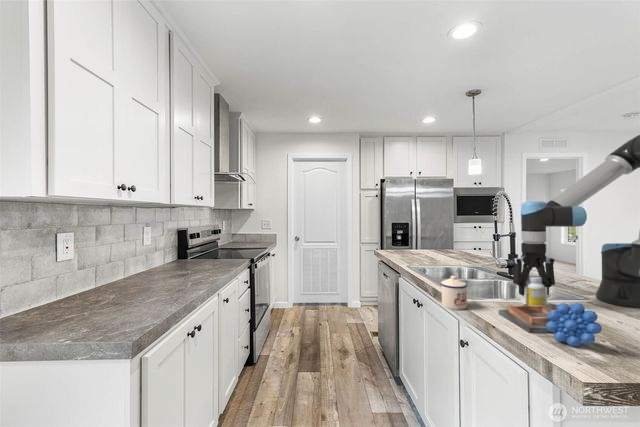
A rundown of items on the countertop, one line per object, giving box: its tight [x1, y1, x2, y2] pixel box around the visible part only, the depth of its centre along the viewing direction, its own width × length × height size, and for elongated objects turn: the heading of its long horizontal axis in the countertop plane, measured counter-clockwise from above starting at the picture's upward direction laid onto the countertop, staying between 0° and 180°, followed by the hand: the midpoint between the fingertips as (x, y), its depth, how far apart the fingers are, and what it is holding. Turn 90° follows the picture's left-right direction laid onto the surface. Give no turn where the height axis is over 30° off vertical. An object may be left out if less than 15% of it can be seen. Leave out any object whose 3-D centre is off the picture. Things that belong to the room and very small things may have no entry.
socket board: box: [498, 304, 556, 334], centre depth 95 cm, size 16×16×4 cm
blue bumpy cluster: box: [546, 302, 603, 348], centre depth 79 cm, size 12×7×12 cm, turn 36°
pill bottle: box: [523, 274, 546, 306], centre depth 109 cm, size 6×6×12 cm
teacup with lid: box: [440, 275, 468, 311], centre depth 112 cm, size 12×9×12 cm
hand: (533, 303), depth 109 cm, fingers closed on pill bottle, 6 cm apart
